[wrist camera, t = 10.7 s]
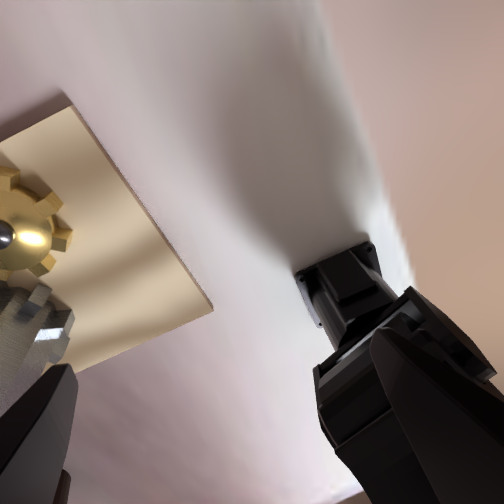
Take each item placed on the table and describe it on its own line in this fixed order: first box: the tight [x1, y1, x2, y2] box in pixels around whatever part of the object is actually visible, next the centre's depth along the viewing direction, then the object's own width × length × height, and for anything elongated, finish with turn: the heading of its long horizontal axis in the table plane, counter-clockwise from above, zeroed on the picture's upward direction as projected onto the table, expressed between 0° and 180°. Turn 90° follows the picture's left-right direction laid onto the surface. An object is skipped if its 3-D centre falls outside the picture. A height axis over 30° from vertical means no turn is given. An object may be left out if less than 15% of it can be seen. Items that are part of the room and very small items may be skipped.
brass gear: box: [0, 166, 73, 281], centre depth 18 cm, size 7×7×2 cm
